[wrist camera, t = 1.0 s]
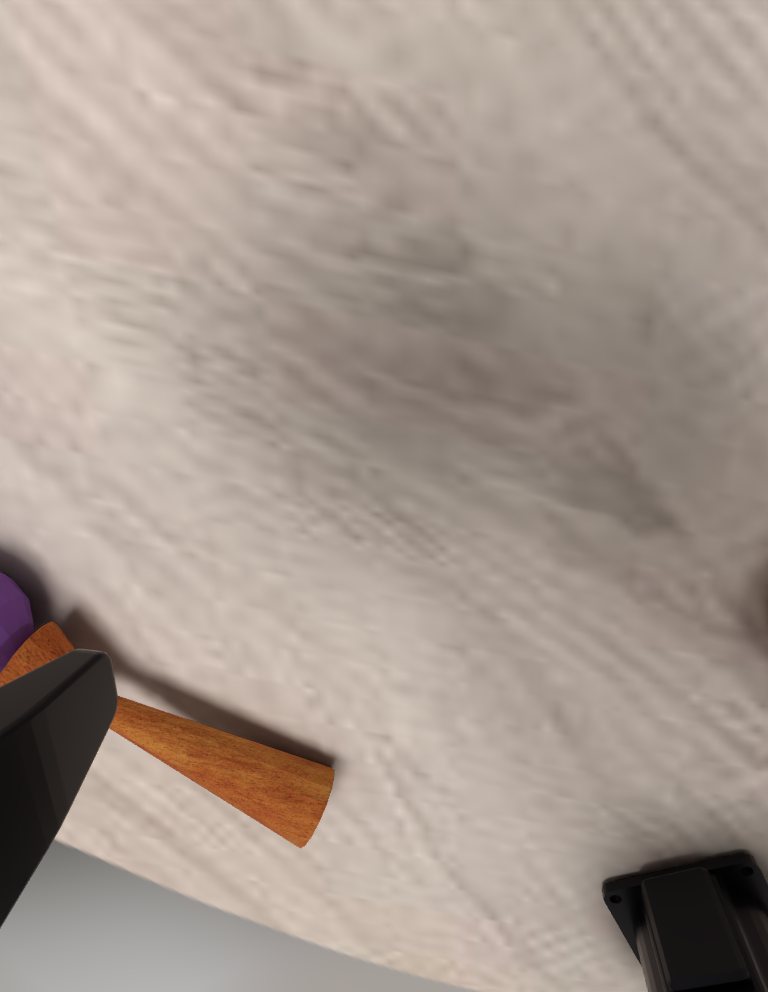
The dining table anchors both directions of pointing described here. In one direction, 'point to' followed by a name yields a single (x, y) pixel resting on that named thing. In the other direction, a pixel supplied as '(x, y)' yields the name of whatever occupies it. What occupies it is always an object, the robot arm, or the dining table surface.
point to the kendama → (184, 737)
